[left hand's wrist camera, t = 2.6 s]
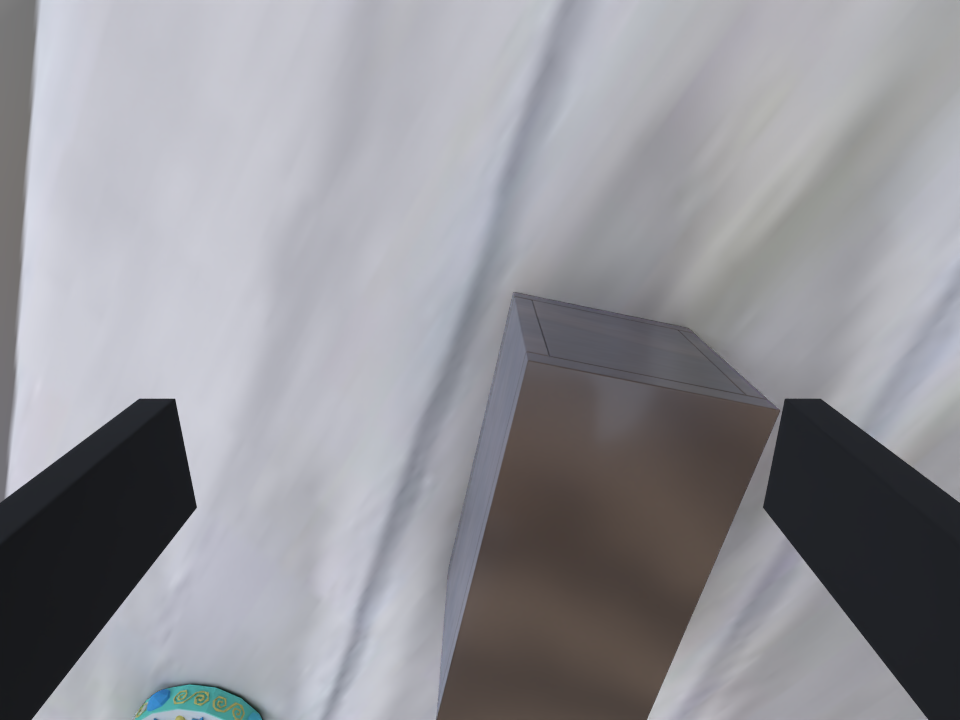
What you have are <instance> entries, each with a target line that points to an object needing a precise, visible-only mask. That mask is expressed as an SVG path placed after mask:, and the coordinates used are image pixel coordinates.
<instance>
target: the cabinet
mask: <svg viewBox="0 0 960 720" xmlns="http://www.w3.org/2000/svg"><path fill="white" fill-rule="evenodd" d="M779 412H780V410H779V409H778V408H777V407H776V406H775V405H774V404H773V403H771V402H770V401H769V400H768V399H767V398H766V397H765V396H763V395H762V394H761V393H760V392H759V391H758V390H757V389H756V388H755V387H753V386H752V385H751V384H750V383H749V382H748V381H747V380H746V379H745V378H743V377H742V376H741V375H740V374H739V373H738V372H737V371H736V370H734V369H733V368H732V367H731V366H730V365H729V364H728V363H727V362H726V361H724V360H723V359H722V358H721V357H720V356H719V355H718V354H717V353H716V352H714V351H713V350H712V349H711V348H710V347H709V346H708V345H707V344H706V343H704V342H703V341H702V340H701V339H700V338H699V337H698V336H697V335H696V334H694V333H693V332H692V331H691V330H690V329H689V328H685V327H681V326H676V325H671V324H666V323H661V322H656V321H652V320H647V319H642V318H637V317H632V316H627V315H622V314H618V313H613V312H608V311H603V310H598V309H593V308H588V307H584V306H579V305H574V304H569V303H564V302H559V301H554V300H550V299H545V298H540V297H535V296H530V295H525V294H520V293H516V292H514V293H513V296H512V301H511V305H510V309H509V313H508V318H507V322H506V326H505V330H504V335H503V339H502V343H501V347H500V352H499V356H498V360H497V365H496V369H495V373H494V377H493V382H492V386H491V390H490V394H489V399H488V403H487V407H486V411H485V416H484V420H483V424H482V428H481V433H480V437H479V441H478V445H477V450H476V454H475V458H474V462H473V467H472V471H471V475H470V480H469V484H468V488H467V492H466V497H465V501H464V505H463V509H462V514H461V518H460V522H459V526H458V531H457V535H456V539H455V543H454V548H453V552H452V556H451V560H450V565H449V569H448V578H447V592H446V604H445V617H444V630H443V643H442V655H441V668H440V681H439V693H438V705H437V718H436V720H647V718H648V716H649V713H650V711H651V709H652V707H653V704H654V702H655V700H656V697H657V695H658V693H659V690H660V688H661V686H662V683H663V681H664V679H665V676H666V674H667V672H668V669H669V667H670V665H671V663H672V660H673V658H674V656H675V653H676V651H677V649H678V646H679V644H680V642H681V639H682V637H683V635H684V632H685V630H686V628H687V625H688V623H689V621H690V618H691V616H692V614H693V612H694V609H695V607H696V605H697V602H698V600H699V598H700V595H701V593H702V591H703V588H704V586H705V584H706V581H707V579H708V577H709V574H710V572H711V570H712V568H713V565H714V563H715V561H716V558H717V556H718V554H719V551H720V549H721V547H722V544H723V542H724V540H725V537H726V535H727V533H728V530H729V528H730V526H731V524H732V521H733V519H734V517H735V514H736V512H737V510H738V507H739V505H740V503H741V500H742V498H743V496H744V493H745V491H746V489H747V486H748V484H749V482H750V480H751V477H752V475H753V473H754V470H755V468H756V466H757V463H758V461H759V459H760V456H761V454H762V452H763V449H764V447H765V445H766V442H767V440H768V438H769V436H770V433H771V431H772V429H773V426H774V424H775V422H776V419H777V417H778V415H779Z"/></svg>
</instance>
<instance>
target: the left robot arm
mask: <svg viewBox="0 0 960 720" xmlns="http://www.w3.org/2000/svg"><path fill="white" fill-rule="evenodd" d="M196 508H197V506H196V501H195V496H194V491H193V486H192V481H191V476H190V471H189V466H188V461H187V456H186V451H185V446H184V441H183V436H182V431H181V426H180V421H179V416H178V411H177V406H176V401H175V399H138V400H137V401H136V402H134V403H133V404H132V405H130V406H129V407H128V408H126V409H125V410H124V411H122V412H121V413H120V414H118V415H117V416H116V417H114V418H113V419H112V420H110V421H109V422H108V423H106V424H105V425H104V426H102V427H101V428H100V429H98V430H97V431H96V432H94V433H93V434H92V435H90V436H89V437H88V438H86V439H85V440H84V441H82V442H81V443H80V444H78V445H77V446H76V447H74V448H73V449H72V450H70V451H69V452H68V453H66V454H65V455H64V456H62V457H61V458H60V459H58V460H57V461H56V462H54V463H53V464H52V465H50V466H49V467H48V468H46V469H45V470H44V471H42V472H41V473H40V474H38V475H37V476H36V477H34V478H33V479H32V480H30V481H29V482H27V483H26V484H25V485H23V486H22V487H21V488H19V489H18V490H17V491H15V492H14V493H13V494H11V495H10V496H9V497H7V498H6V499H5V500H4V501H2V502H1V503H0V720H32V718H33V717H34V716H35V715H36V713H37V712H38V711H39V709H40V708H41V707H42V706H43V704H44V703H45V702H46V700H47V699H48V698H49V697H50V695H51V694H52V693H53V691H54V690H55V689H56V688H57V686H58V685H59V684H60V682H61V681H62V680H63V679H64V677H65V676H66V675H67V673H68V672H69V671H70V670H71V668H72V667H73V666H74V665H75V663H76V662H77V661H78V659H79V658H80V657H81V656H82V654H83V653H84V652H85V650H86V649H87V648H88V647H89V645H90V644H91V643H92V641H93V640H94V639H95V638H96V636H97V635H98V634H99V632H100V631H101V630H102V629H103V627H104V626H105V625H106V623H107V622H108V621H109V620H110V618H111V617H112V616H113V614H114V613H115V612H116V611H117V609H118V608H119V607H120V605H121V604H122V603H123V602H124V600H125V599H126V598H127V596H128V595H129V594H130V593H131V591H132V590H133V589H134V588H135V586H136V585H137V584H138V582H139V581H140V580H141V579H142V577H143V576H144V575H145V573H146V572H147V571H148V570H149V568H150V567H151V566H152V564H153V563H154V562H155V561H156V559H157V558H158V557H159V555H160V554H161V553H162V552H163V550H164V549H165V548H166V546H167V545H168V544H169V543H170V541H171V540H172V539H173V537H174V536H175V535H176V534H177V532H178V531H179V530H180V528H181V527H182V526H183V525H184V523H185V522H186V521H187V519H188V518H189V517H190V516H191V514H192V513H193V512H194V511H195V509H196ZM763 508H764V509H765V511H766V512H767V513H768V514H769V516H770V517H771V518H772V519H773V521H774V522H775V523H776V525H777V526H778V527H779V528H780V530H781V531H782V532H783V534H784V535H785V536H786V537H787V539H788V540H789V541H790V543H791V544H792V545H793V546H794V548H795V549H796V550H797V552H798V553H799V554H800V555H801V557H802V558H803V559H804V561H805V562H806V563H807V564H808V566H809V567H810V568H811V570H812V571H813V572H814V573H815V575H816V576H817V577H818V579H819V580H820V581H821V582H822V584H823V585H824V586H825V588H826V589H827V590H828V591H829V593H830V594H831V595H832V596H833V598H834V599H835V600H836V602H837V603H838V604H839V605H840V607H841V608H842V609H843V611H844V612H845V613H846V614H847V616H848V617H849V618H850V620H851V621H852V622H853V623H854V625H855V626H856V627H857V629H858V630H859V631H860V632H861V634H862V635H863V636H864V638H865V639H866V640H867V641H868V643H869V644H870V645H871V647H872V648H873V649H874V650H875V652H876V653H877V654H878V656H879V657H880V658H881V659H882V661H883V662H884V663H885V665H886V666H887V667H888V668H889V670H890V671H891V672H892V673H893V675H894V676H895V677H896V679H897V680H898V681H899V682H900V684H901V685H902V686H903V688H904V689H905V690H906V691H907V693H908V694H909V695H910V697H911V698H912V699H913V700H914V702H915V703H916V704H917V706H918V707H919V708H920V709H921V711H922V712H923V713H924V715H925V716H926V717H927V718H928V720H960V503H959V502H958V501H957V500H955V499H954V498H953V497H951V496H950V495H949V494H947V493H946V492H945V491H943V490H942V489H941V488H939V487H938V486H937V485H935V484H934V483H933V482H931V481H930V480H928V479H927V478H926V477H924V476H923V475H922V474H920V473H919V472H918V471H916V470H915V469H914V468H912V467H911V466H910V465H908V464H907V463H906V462H904V461H903V460H902V459H900V458H899V457H898V456H896V455H895V454H894V453H892V452H891V451H890V450H888V449H887V448H886V447H884V446H883V445H882V444H880V443H879V442H878V441H876V440H875V439H874V438H872V437H871V436H870V435H868V434H867V433H866V432H864V431H863V430H862V429H860V428H859V427H858V426H856V425H855V424H854V423H852V422H851V421H850V420H848V419H847V418H846V417H844V416H843V415H842V414H840V413H839V412H838V411H836V410H835V409H834V408H832V407H831V406H830V405H828V404H827V403H826V402H824V401H823V400H822V399H785V401H784V406H783V411H782V416H781V421H780V426H779V431H778V436H777V441H776V446H775V451H774V456H773V461H772V466H771V471H770V476H769V481H768V486H767V491H766V496H765V501H764V506H763Z"/></svg>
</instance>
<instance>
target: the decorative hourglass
mask: <svg viewBox="0 0 960 720" xmlns="http://www.w3.org/2000/svg"><path fill="white" fill-rule="evenodd" d="M133 718H134V719H133ZM133 718H132V720H262V718H261V716H260V714H259V713H258V712H257V711H256V710H254V709H253V708H252V707H251V706H250V705H248V704H247V703H246V702H245V701H244V700H243V699H241V698H239V697H237V696H235V695H232V694H230V693H228V692H225V691H223V690H221V689H218V688H215V687H207V686H199V685H190V684H189V685H184V686H178V687H172V688H167V689H163V690H161V691H158V692H156V693H155V694H154V695H152V696H151V698H149V699H147V700H146V702H145V703H144V704H143V705H142V706H141V708H140V709H139V710H138V712H137V713H136V714H135V715H134V717H133Z"/></svg>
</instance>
